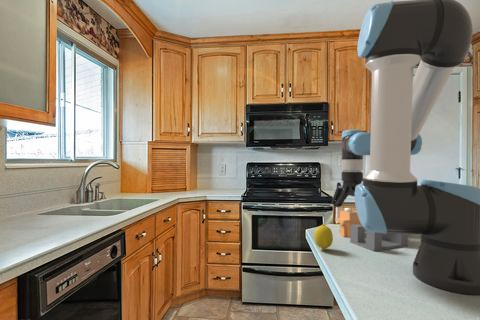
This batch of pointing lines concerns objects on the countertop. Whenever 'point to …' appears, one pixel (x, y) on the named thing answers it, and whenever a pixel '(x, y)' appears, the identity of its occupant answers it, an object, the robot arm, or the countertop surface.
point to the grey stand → (376, 239)
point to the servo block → (347, 221)
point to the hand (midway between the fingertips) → (351, 227)
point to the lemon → (323, 237)
